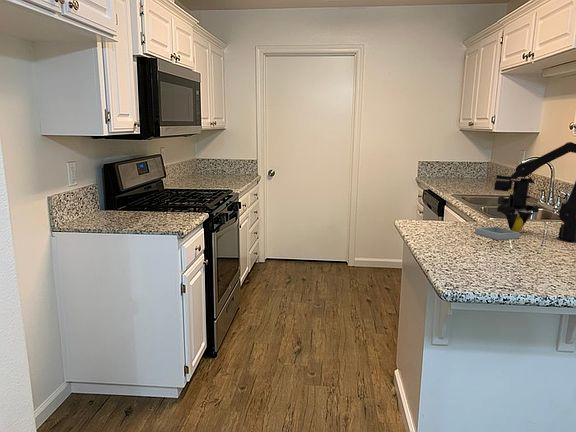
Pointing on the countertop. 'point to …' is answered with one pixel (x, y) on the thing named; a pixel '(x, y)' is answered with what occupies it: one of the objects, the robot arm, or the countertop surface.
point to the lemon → (517, 224)
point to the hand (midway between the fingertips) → (515, 228)
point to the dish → (497, 233)
